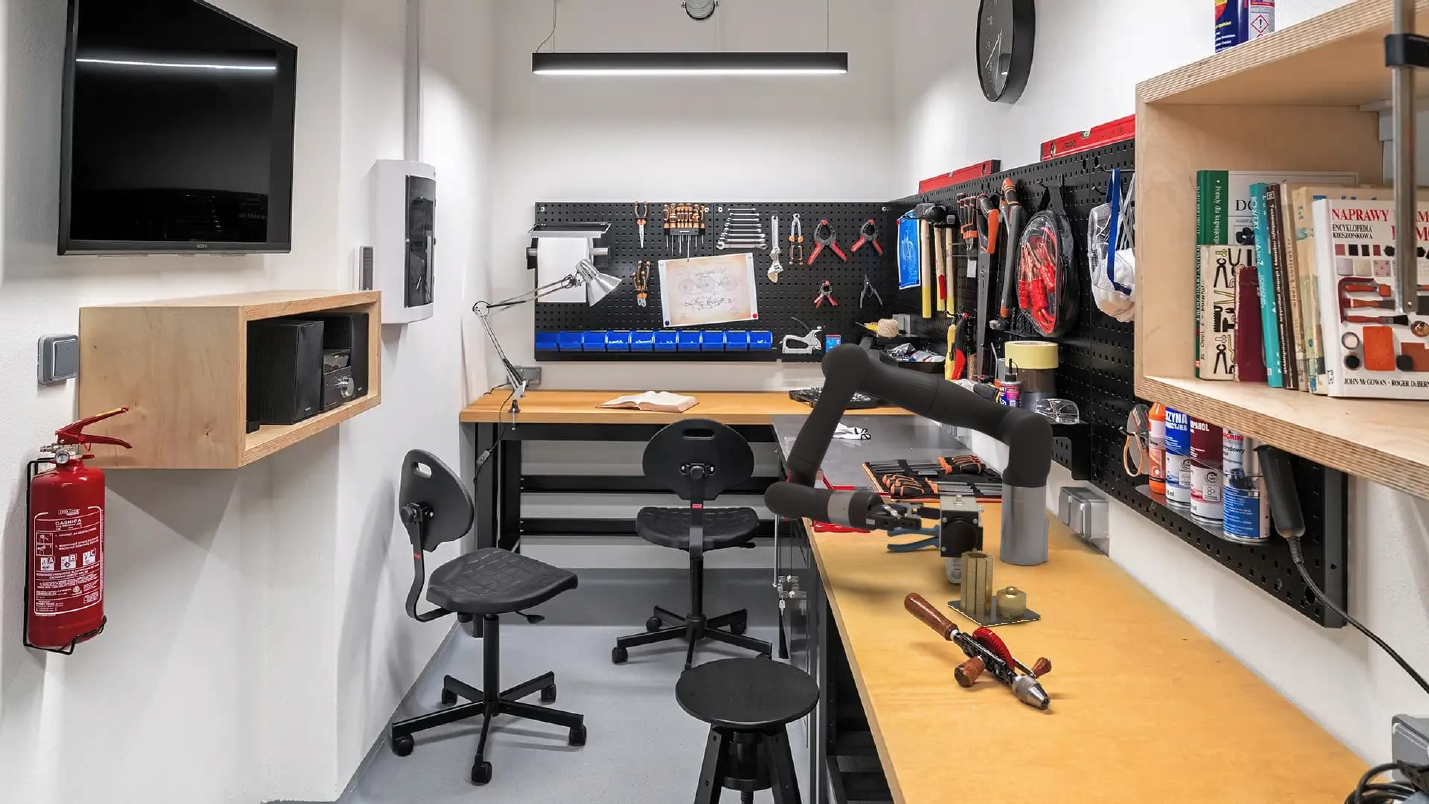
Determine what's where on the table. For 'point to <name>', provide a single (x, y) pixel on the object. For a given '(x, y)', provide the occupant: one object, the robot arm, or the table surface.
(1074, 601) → the table surface
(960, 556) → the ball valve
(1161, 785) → the table surface
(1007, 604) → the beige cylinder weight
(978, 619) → the carrier plate
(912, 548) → the pliers
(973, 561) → the brass grooved sleeve
